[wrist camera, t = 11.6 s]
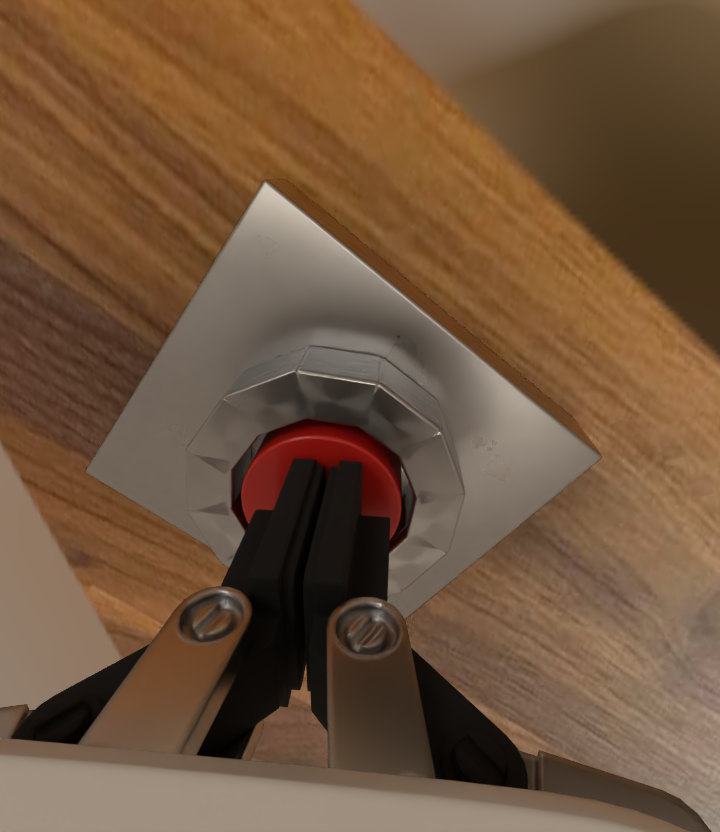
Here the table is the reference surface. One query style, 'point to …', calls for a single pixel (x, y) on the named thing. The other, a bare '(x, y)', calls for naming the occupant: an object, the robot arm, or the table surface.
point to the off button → (328, 449)
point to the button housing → (337, 398)
